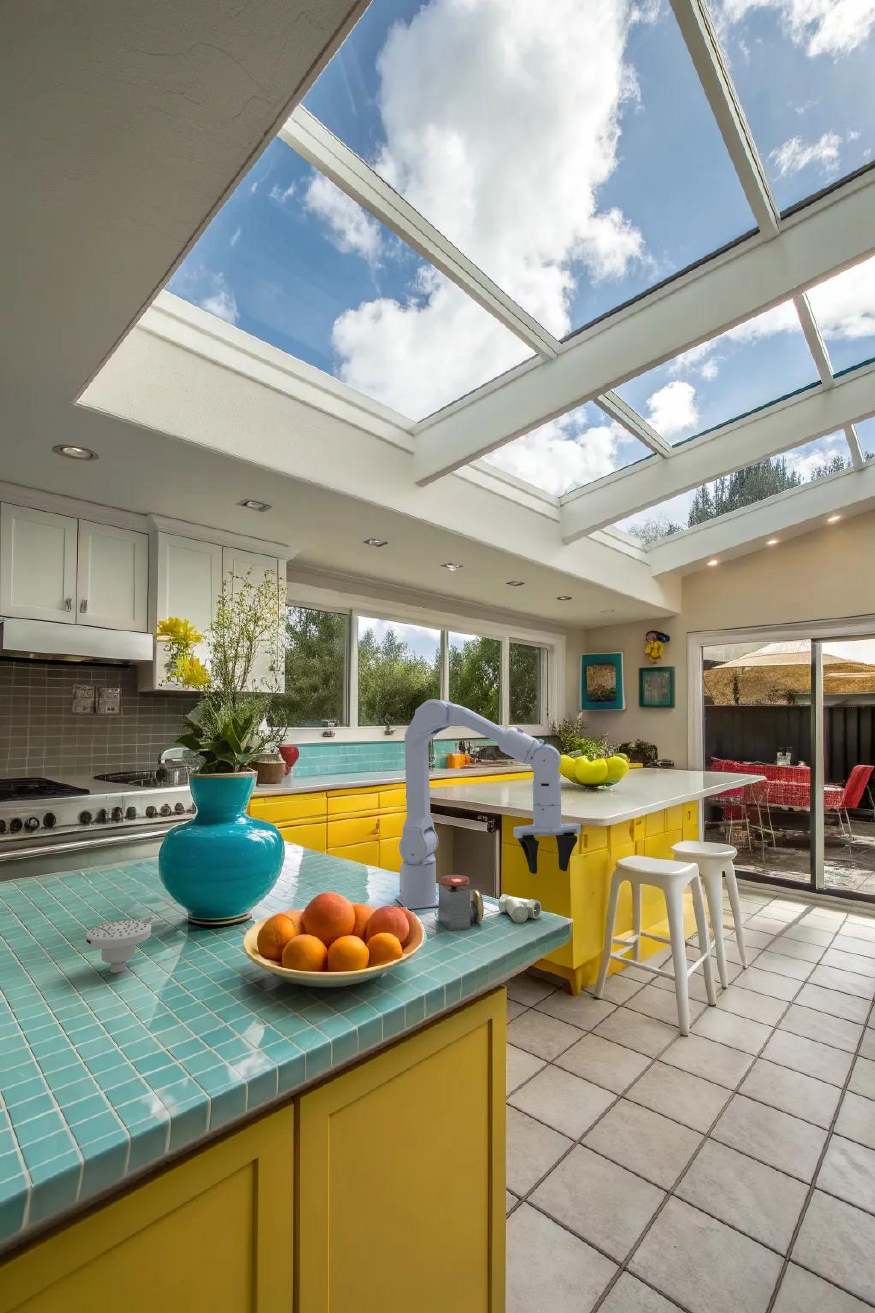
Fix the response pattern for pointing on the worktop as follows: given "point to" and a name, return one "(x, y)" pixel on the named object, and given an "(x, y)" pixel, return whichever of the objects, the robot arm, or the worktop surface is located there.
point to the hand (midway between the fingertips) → (548, 871)
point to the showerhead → (118, 940)
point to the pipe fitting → (519, 907)
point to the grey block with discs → (458, 903)
